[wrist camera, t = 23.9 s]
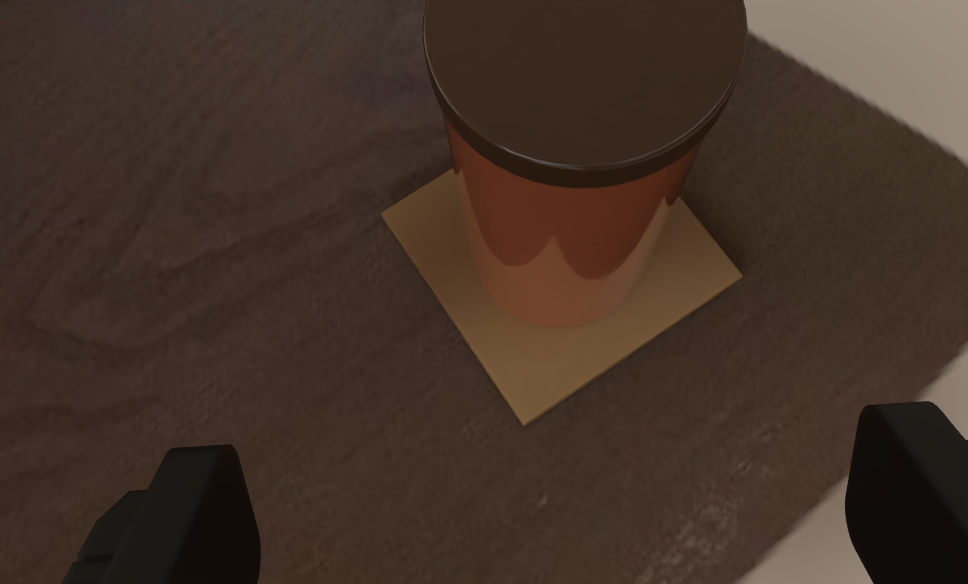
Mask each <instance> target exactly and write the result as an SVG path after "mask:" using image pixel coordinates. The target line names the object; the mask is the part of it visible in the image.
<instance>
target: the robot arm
mask: <svg viewBox="0 0 968 584" xmlns="http://www.w3.org/2000/svg"><path fill="white" fill-rule="evenodd" d="M845 514H846V522H847V527H848V531H849V535H850V538H851V541H852V544H853V546H854V548H855V550H856V552H857V554H858V556H859V557H860V559H861V561H862V563H863V565H864V567H865V569H866V570H867V572H868V574H869V576H870V578H871V580H872V581H873V583H874V584H968V440H965V439H964V437H963V436H962V435H961V434H960V433H959V431H958V430H957V429H956V428H955V427H954V425H953V424H952V423H951V422H950V421H949V419H948V418H947V417H946V416H945V414H944V413H943V412H942V411H941V410H940V409H939V408H938V407H937V406H936V405H935V404H934V403H932V402H929V401H928V402H927V401H923V402H908V403H892V404H877V405H867V406H865V407H864V408H863V410H862V411H861V414H860V416H859V421H858V426H857V432H856V438H855V444H854V450H853V456H852V461H851V467H850V473H849V479H848V485H847V491H846V497H845ZM77 557H78V560H77V562H73V564H72V566H71V567H70V569H69V571H68V573H67V574H66V576H65V578H64V580H63V582H62V583H61V584H257V582H258V578H259V572H260V561H261V547H260V537H259V532H258V528H257V524H256V520H255V516H254V513H253V509H252V505H251V501H250V498H249V494H248V490H247V486H246V483H245V479H244V475H243V471H242V468H241V464H240V460H239V457H238V454H237V452H236V450H235V448H234V447H233V446H232V445H230V444H227V445H212V446H196V447H181V448H172V449H170V450H169V451H168V452H167V453H166V455H165V457H164V458H163V460H162V462H161V464H160V466H159V468H158V470H157V472H156V474H155V476H154V478H153V480H152V482H151V484H150V486H149V488H148V490H136V491H129V492H127V493H126V494H125V495H124V496H123V497H122V498H121V499H120V500H119V501H118V502H117V503H116V504H114V505H113V506H112V507H111V508H110V509H109V510H108V511H107V512H106V513H105V514H104V515H103V516H102V517H100V518H99V519H98V520H97V521H96V523H95V525H94V526H93V528H92V530H91V532H90V534H89V535H88V537H87V539H86V541H85V542H84V544H83V546H82V548H81V550H80V551H79V553H78V555H77Z"/></svg>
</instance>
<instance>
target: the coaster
mask: <svg viewBox="0 0 968 584" xmlns="http://www.w3.org/2000/svg"><path fill="white" fill-rule="evenodd" d="M381 216H382V218H383V220H384V222H385V223H386V225H387V226H388V227H389V229H390V230H391V232H392V233H393V235H394V236H395V238H396V239H397V241H398V242H399V244H400V245H401V247H402V248H403V250H404V251H405V253H406V254H407V256H408V257H409V258H410V260H411V261H412V263H413V264H414V266H415V267H416V269H417V270H418V272H419V273H420V275H421V276H422V278H423V279H424V281H425V282H426V284H427V285H428V287H429V288H430V289H431V291H432V292H433V294H434V295H435V297H436V298H437V300H438V301H439V303H440V304H441V306H442V307H443V309H444V310H445V312H446V313H447V315H448V316H449V317H450V319H451V320H452V322H453V323H454V325H455V326H456V328H457V329H458V331H459V332H460V334H461V335H462V337H463V338H464V340H465V341H466V343H467V344H468V346H469V347H470V348H471V350H472V351H473V353H474V354H475V356H476V357H477V359H478V360H479V362H480V363H481V365H482V366H483V368H484V369H485V371H486V372H487V374H488V375H489V377H490V378H491V379H492V381H493V382H494V384H495V385H496V387H497V388H498V390H499V391H500V393H501V394H502V396H503V397H504V399H505V400H506V402H507V403H508V405H509V406H510V407H511V409H512V410H513V412H514V413H515V415H516V416H517V418H518V419H519V421H520V422H521V424H522V425H523V426H527V425H528V424H530V423H531V422H533V421H534V420H536V419H537V418H539V417H540V416H542V415H543V414H545V413H546V412H547V411H549V410H550V409H552V408H553V407H555V406H556V405H558V404H559V403H561V402H562V401H564V400H565V399H567V398H568V397H570V396H571V395H572V394H574V393H575V392H577V391H578V390H580V389H581V388H583V387H584V386H586V385H587V384H589V383H590V382H592V381H593V380H595V379H596V378H598V377H599V376H600V375H602V374H603V373H605V372H606V371H608V370H609V369H611V368H612V367H614V366H615V365H617V364H618V363H620V362H621V361H623V360H624V359H625V358H627V357H628V356H630V355H631V354H633V353H634V352H636V351H637V350H639V349H640V348H642V347H643V346H645V345H646V344H648V343H649V342H651V341H652V340H653V339H655V338H656V337H658V336H659V335H661V334H662V333H664V332H665V331H667V330H668V329H670V328H671V327H673V326H674V325H676V324H677V323H679V322H680V321H681V320H683V319H684V318H686V317H687V316H689V315H690V314H692V313H693V312H695V311H696V310H698V309H699V308H701V307H702V306H704V305H705V304H706V303H708V302H709V301H711V300H712V299H714V298H715V297H717V296H718V295H720V294H721V293H723V292H724V291H726V290H727V289H729V288H730V287H732V286H733V285H734V284H736V283H737V282H739V281H740V279H741V278H742V277H743V275H742V274H741V272H740V271H739V270H738V269H737V267H736V266H735V265H734V264H733V262H732V261H731V260H730V259H729V257H728V256H727V255H726V254H725V252H724V251H723V250H722V249H721V247H720V246H719V245H718V244H717V242H716V241H715V240H714V239H713V238H712V236H711V235H710V234H709V233H708V231H707V230H706V229H705V228H704V226H703V225H702V224H701V223H700V221H699V220H698V219H697V218H696V216H695V215H694V214H693V213H692V211H691V210H690V209H689V208H688V206H687V205H686V204H685V203H684V202H683V200H682V199H681V198H680V197H679V195H678V197H677V199H676V202H675V204H674V206H673V208H672V210H671V213H670V215H669V217H668V219H667V221H666V224H665V226H664V228H663V230H662V233H661V235H660V237H659V239H658V241H657V244H656V246H655V248H654V250H653V253H652V255H651V257H650V259H649V261H648V264H647V266H646V268H645V270H644V273H643V275H642V277H641V279H640V281H639V282H638V284H637V286H636V288H635V289H634V290H633V292H632V293H631V294H630V296H629V297H628V298H627V299H626V300H625V301H624V302H623V303H622V304H621V305H620V306H618V307H617V308H616V309H614V310H613V311H612V312H610V313H609V314H607V315H605V316H603V317H602V318H599V319H597V320H595V321H592V322H589V323H586V324H582V325H578V326H571V327H549V326H541V325H537V324H533V323H530V322H527V321H525V320H522V319H520V318H518V317H516V316H514V315H512V314H510V313H509V312H507V311H506V310H505V309H503V308H502V307H500V306H499V305H498V304H497V303H496V302H495V301H494V300H493V299H492V298H491V297H490V296H489V295H488V293H487V292H486V291H485V290H484V288H483V287H482V285H481V283H480V282H479V280H478V278H477V276H476V273H475V271H474V269H473V265H472V262H471V258H470V253H469V248H468V242H467V237H466V232H465V227H464V222H463V216H462V211H461V206H460V201H459V196H458V190H457V185H456V180H455V175H454V170H453V168H452V169H450V170H448V171H447V172H445V173H444V174H442V175H441V176H439V177H437V178H436V179H434V180H433V181H431V182H429V183H428V184H426V185H425V186H423V187H421V188H420V189H418V190H417V191H415V192H413V193H412V194H410V195H409V196H407V197H405V198H404V199H402V200H401V201H399V202H397V203H396V204H394V205H393V206H391V207H389V208H388V209H386V210H385V211H383V212H382V213H381Z"/></svg>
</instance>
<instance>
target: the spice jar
mask: <svg viewBox="0 0 968 584" xmlns="http://www.w3.org/2000/svg"><path fill="white" fill-rule="evenodd" d="M747 31H748V28H747V18H746V9H745V6H744V1H743V0H426V5H425V10H424V16H423V44H424V52H425V58H426V63H427V68H428V73H429V77H430V81H431V84H432V88H433V91H434V94H435V97H436V99H437V101H438V103H439V106H440V108H441V110H442V112H443V118H444V123H445V128H446V133H447V138H448V144H449V149H450V154H451V159H452V164H453V170H454V175H455V180H456V185H457V190H458V196H459V201H460V206H461V211H462V216H463V222H464V227H465V232H466V237H467V242H468V248H469V253H470V258H471V262H472V265H473V269H474V271H475V273H476V276H477V278H478V280H479V282H480V283H481V285H482V287H483V288H484V290H485V291H486V292H487V293H488V295H489V296H490V297H491V298H492V299H493V300H494V301H495V302H496V303H497V304H498V305H499V306H500V307H502V308H503V309H505V310H506V311H507V312H509V313H510V314H512V315H514V316H516V317H518V318H520V319H522V320H525V321H527V322H530V323H533V324H537V325H541V326H549V327H571V326H578V325H582V324H586V323H589V322H592V321H595V320H597V319H599V318H602V317H603V316H605V315H607V314H609V313H610V312H612V311H613V310H614V309H616V308H617V307H618V306H620V305H621V304H622V303H623V302H624V301H625V300H626V299H627V298H628V297H629V296H630V294H631V293H632V292H633V290H634V289H635V288H636V286H637V284H638V282H639V281H640V279H641V277H642V275H643V273H644V270H645V268H646V266H647V264H648V261H649V259H650V257H651V255H652V253H653V250H654V248H655V246H656V244H657V241H658V239H659V237H660V235H661V233H662V230H663V228H664V226H665V224H666V221H667V219H668V217H669V215H670V213H671V210H672V208H673V206H674V204H675V202H676V199H677V197H678V195H679V193H680V190H681V188H682V186H683V184H684V182H685V179H686V177H687V175H688V173H689V170H690V168H691V166H692V164H693V162H694V159H695V157H696V155H697V153H698V150H699V148H700V146H701V144H702V142H703V139H704V137H705V136H706V135H707V133H708V132H709V131H710V129H711V128H712V127H713V126H714V124H715V123H716V122H717V120H718V118H719V117H720V115H721V113H722V111H723V109H724V108H725V106H726V104H727V102H728V100H729V98H730V96H731V93H732V91H733V89H734V87H735V85H736V82H737V80H738V77H739V74H740V72H741V69H742V66H743V62H744V57H745V53H746V48H747Z"/></svg>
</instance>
